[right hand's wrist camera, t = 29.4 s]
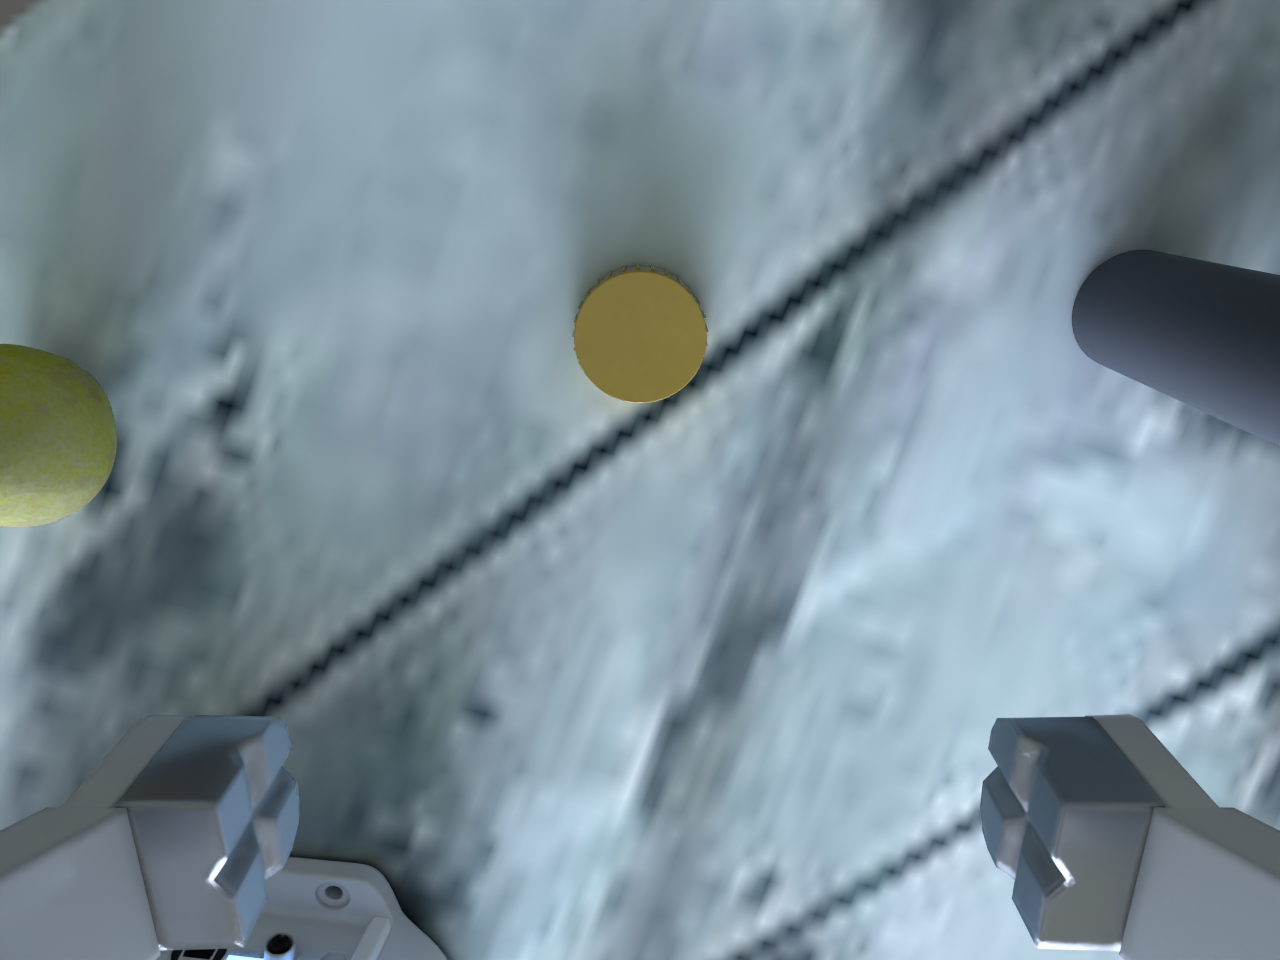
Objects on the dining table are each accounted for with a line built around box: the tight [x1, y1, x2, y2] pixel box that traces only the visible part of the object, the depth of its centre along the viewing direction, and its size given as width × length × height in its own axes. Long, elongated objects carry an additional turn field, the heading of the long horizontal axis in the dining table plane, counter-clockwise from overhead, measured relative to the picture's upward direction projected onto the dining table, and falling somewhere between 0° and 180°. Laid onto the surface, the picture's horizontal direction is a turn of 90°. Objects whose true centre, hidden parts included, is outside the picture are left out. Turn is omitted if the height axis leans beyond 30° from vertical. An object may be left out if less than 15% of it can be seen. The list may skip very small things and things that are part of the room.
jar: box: [1072, 250, 1280, 447], centre depth 28 cm, size 5×5×16 cm
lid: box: [573, 264, 708, 403], centre depth 35 cm, size 5×5×2 cm
